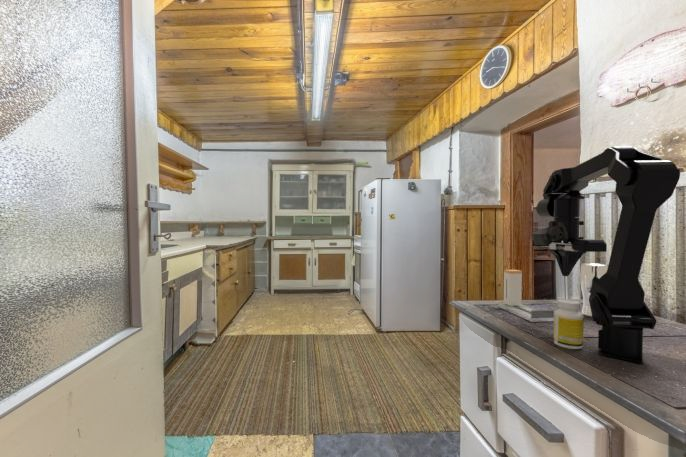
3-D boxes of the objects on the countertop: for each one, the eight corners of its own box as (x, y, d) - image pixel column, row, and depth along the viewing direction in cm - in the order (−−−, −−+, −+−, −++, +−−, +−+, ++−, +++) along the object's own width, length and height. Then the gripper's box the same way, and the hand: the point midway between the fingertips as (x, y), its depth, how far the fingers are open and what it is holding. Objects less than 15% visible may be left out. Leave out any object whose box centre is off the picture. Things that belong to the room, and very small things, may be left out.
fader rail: (555, 321, 89) (555, 310, 89) (531, 321, 89) (531, 311, 88) (519, 306, 105) (519, 297, 105) (498, 307, 104) (498, 297, 104)
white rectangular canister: (521, 305, 101) (522, 270, 101) (509, 305, 101) (509, 271, 101) (515, 303, 104) (516, 269, 104) (503, 303, 104) (504, 269, 104)
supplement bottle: (589, 350, 69) (590, 304, 69) (563, 349, 69) (564, 304, 69) (571, 340, 75) (572, 298, 74) (548, 340, 75) (548, 298, 74)
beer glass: (585, 317, 93) (586, 265, 93) (575, 311, 100) (576, 262, 100) (614, 319, 91) (615, 266, 91) (602, 313, 98) (603, 263, 98)
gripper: (515, 217, 94) (514, 271, 95) (566, 216, 76) (564, 283, 76) (551, 218, 95) (550, 270, 96) (609, 217, 77) (607, 282, 77)
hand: (565, 276), depth 86 cm, fingers closed
